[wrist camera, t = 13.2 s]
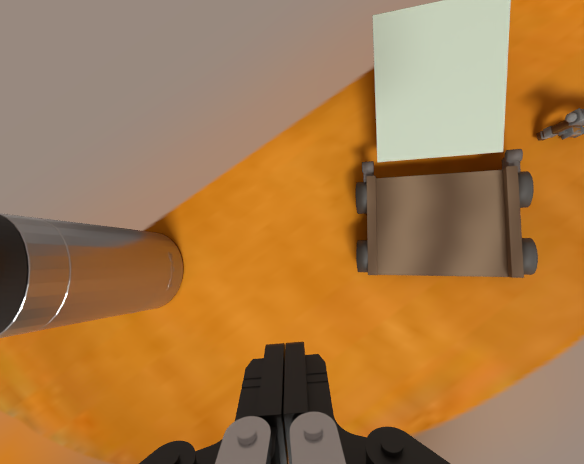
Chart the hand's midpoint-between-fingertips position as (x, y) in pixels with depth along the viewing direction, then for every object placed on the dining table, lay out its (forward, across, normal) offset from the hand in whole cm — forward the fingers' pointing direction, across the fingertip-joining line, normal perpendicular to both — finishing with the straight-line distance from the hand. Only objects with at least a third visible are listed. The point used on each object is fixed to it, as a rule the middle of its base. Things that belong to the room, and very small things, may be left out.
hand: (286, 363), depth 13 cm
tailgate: (+19, -14, -6) cm, 24 cm away
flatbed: (+19, -14, 0) cm, 23 cm away
